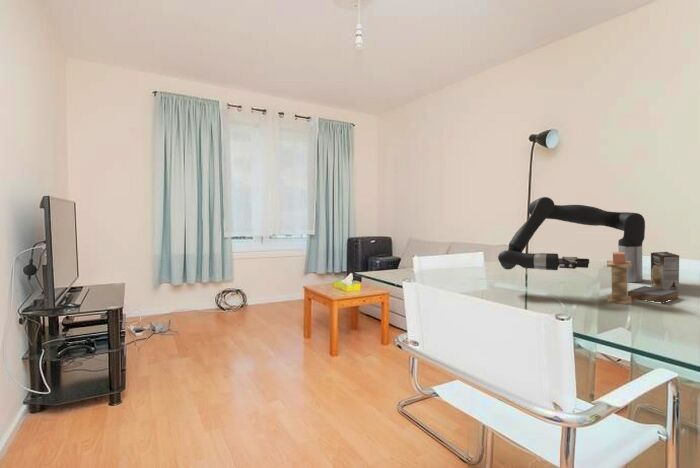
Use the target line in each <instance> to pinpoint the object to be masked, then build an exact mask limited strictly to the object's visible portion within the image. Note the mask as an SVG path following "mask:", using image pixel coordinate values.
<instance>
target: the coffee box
mask: <svg viewBox="0 0 700 468" xmlns="http://www.w3.org/2000/svg"><path fill="white" fill-rule="evenodd" d="M650 287H654V288H660V289H666V290H673V291H676V292H678V293H679V291H680V255H678V254H676V253H672V252H668V251H656V252H650Z"/></svg>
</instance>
